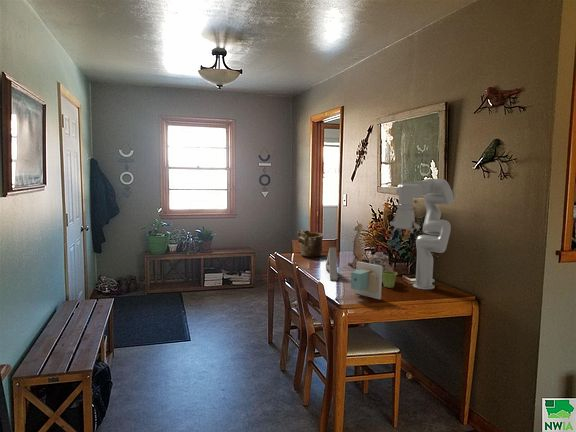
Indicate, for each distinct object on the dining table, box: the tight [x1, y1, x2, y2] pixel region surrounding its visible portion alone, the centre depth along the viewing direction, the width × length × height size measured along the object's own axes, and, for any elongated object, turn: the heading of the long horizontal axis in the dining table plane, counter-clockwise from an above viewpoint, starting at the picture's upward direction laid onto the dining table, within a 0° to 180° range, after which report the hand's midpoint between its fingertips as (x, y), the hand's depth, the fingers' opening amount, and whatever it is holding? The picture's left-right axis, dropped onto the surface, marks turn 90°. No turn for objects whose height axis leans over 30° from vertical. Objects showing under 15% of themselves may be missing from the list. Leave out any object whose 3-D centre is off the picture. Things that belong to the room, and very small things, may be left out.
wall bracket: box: [325, 246, 338, 282], centre depth 292 cm, size 22×4×30 cm
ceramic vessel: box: [296, 229, 324, 258], centre depth 354 cm, size 23×24×25 cm
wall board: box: [353, 261, 383, 300], centre depth 240 cm, size 5×16×18 cm, turn 44°
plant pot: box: [382, 270, 398, 289], centre depth 263 cm, size 9×9×9 cm
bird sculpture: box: [347, 223, 363, 269], centre depth 317 cm, size 11×12×32 cm
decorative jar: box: [368, 251, 390, 284], centre depth 277 cm, size 12×12×18 cm
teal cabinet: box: [350, 269, 372, 291], centre depth 236 cm, size 11×6×9 cm, turn 134°
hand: (403, 239), depth 236 cm, fingers open, 9 cm apart
